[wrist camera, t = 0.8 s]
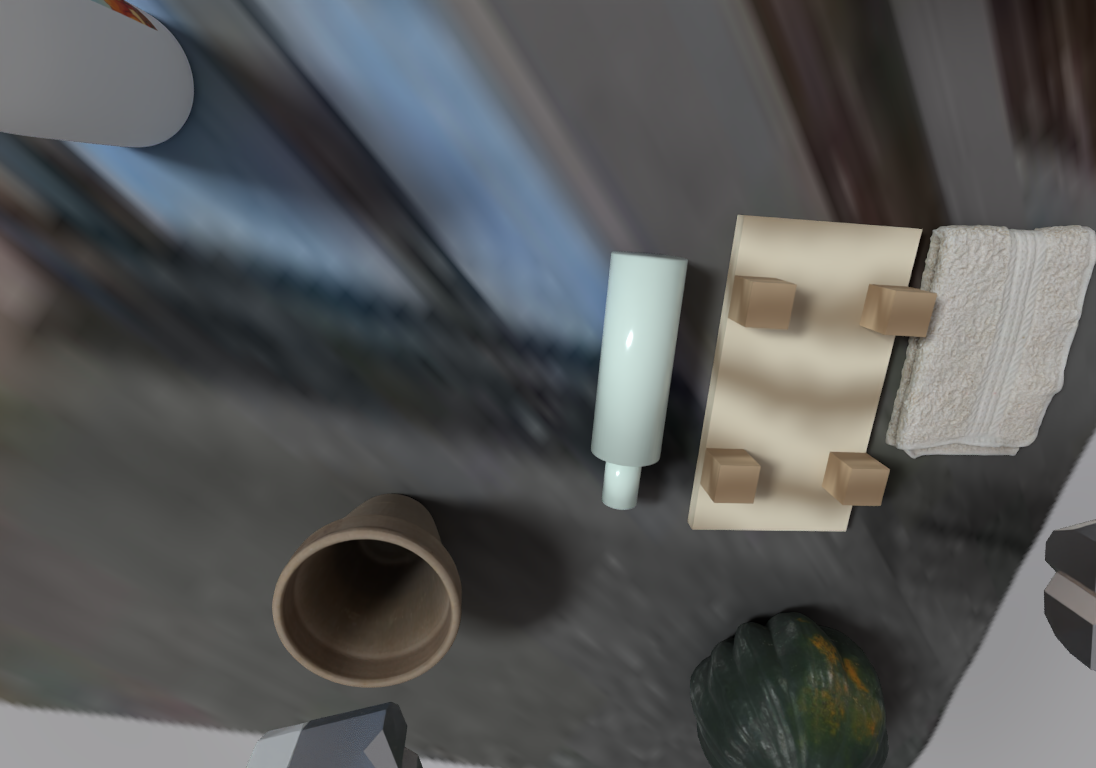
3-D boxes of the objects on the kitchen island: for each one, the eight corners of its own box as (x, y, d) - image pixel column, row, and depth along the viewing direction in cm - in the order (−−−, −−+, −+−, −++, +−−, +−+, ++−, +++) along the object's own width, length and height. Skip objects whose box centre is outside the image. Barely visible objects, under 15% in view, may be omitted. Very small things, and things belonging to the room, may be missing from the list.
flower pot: (281, 508, 45) (228, 593, 36) (411, 433, 45) (392, 500, 35) (371, 615, 49) (344, 718, 40) (493, 547, 48) (495, 637, 39)
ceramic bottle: (604, 249, 42) (620, 258, 37) (674, 254, 43) (698, 263, 38) (580, 484, 48) (592, 517, 43) (643, 485, 48) (660, 518, 43)
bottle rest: (737, 214, 42) (764, 217, 38) (911, 228, 44) (953, 232, 40) (687, 521, 49) (705, 550, 45) (837, 523, 51) (867, 552, 47)
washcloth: (877, 449, 50) (901, 466, 47) (922, 221, 44) (954, 224, 41) (1010, 446, 51) (1043, 461, 48) (1071, 224, 45) (1111, 226, 43)
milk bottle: (226, 82, 37) (-48, -30, 18) (146, 176, 38) (-192, 166, 19) (110, -29, 34) (-345, -292, 15) (29, 75, 35) (-489, -52, 17)
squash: (930, 682, 50) (936, 775, 37) (818, 801, 54) (789, 922, 41) (780, 563, 57) (741, 607, 44) (690, 677, 60) (629, 748, 47)
